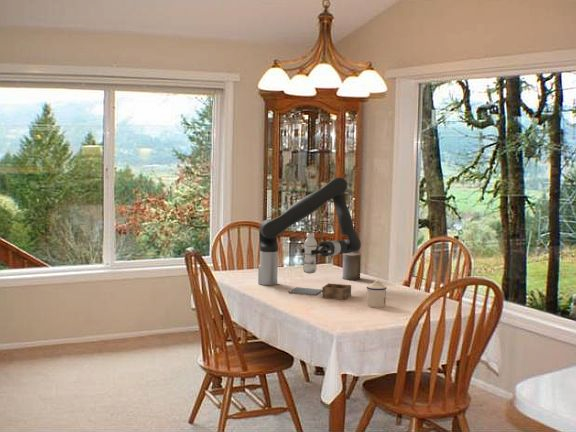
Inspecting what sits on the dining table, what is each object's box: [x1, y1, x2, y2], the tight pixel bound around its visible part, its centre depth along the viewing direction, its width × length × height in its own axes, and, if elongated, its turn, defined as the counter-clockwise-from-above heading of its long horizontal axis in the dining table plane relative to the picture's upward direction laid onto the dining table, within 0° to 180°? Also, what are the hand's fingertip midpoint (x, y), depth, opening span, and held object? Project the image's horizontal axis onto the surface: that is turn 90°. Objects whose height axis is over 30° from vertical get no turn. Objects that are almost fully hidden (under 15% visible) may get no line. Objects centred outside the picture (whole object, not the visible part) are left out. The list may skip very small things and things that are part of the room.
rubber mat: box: [287, 286, 322, 296], centre depth 352 cm, size 14×12×1 cm
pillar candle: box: [342, 252, 362, 281], centre depth 388 cm, size 10×10×15 cm
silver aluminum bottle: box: [302, 232, 318, 275], centre depth 349 cm, size 6×7×20 cm
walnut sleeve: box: [321, 282, 352, 301], centre depth 343 cm, size 11×10×5 cm
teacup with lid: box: [366, 279, 388, 309], centre depth 326 cm, size 12×9×12 cm
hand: (306, 251), depth 347 cm, fingers closed on silver aluminum bottle, 6 cm apart
